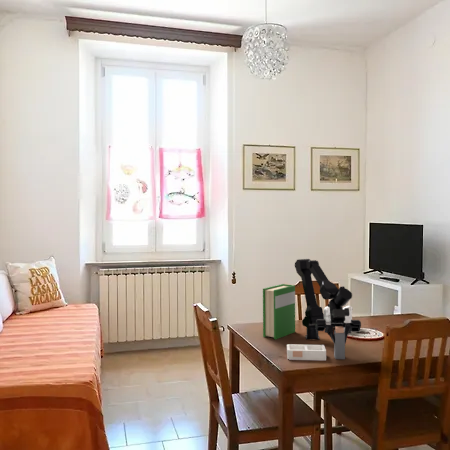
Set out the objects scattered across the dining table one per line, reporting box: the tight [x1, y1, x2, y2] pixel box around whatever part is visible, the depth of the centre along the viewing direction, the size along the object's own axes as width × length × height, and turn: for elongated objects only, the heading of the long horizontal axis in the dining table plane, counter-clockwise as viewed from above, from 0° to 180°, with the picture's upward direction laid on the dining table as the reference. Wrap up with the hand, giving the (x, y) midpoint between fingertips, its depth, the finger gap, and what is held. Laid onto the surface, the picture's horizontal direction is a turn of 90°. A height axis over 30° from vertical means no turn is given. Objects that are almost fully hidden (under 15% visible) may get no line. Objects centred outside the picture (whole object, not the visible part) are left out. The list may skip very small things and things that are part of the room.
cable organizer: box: [323, 305, 353, 330], centre depth 248 cm, size 15×11×12 cm
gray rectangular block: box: [333, 326, 346, 360], centre depth 200 cm, size 4×4×13 cm
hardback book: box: [262, 283, 296, 340], centre depth 237 cm, size 18×7×24 cm, turn 139°
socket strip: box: [286, 343, 327, 361], centre depth 202 cm, size 9×16×4 cm, turn 84°
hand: (339, 343), depth 199 cm, fingers closed on gray rectangular block, 4 cm apart
